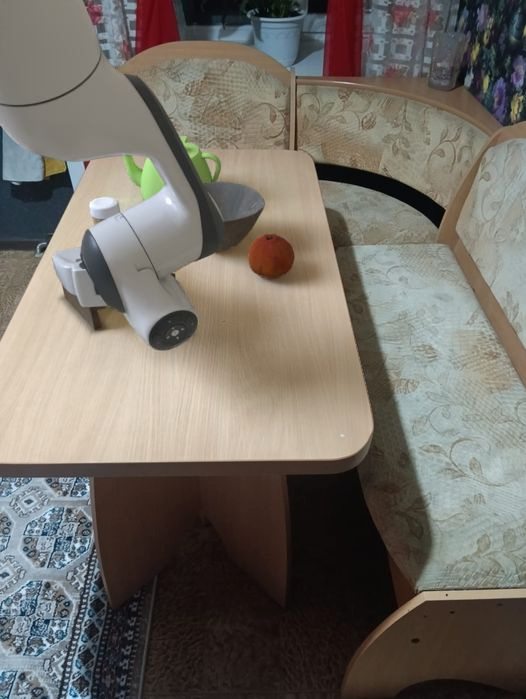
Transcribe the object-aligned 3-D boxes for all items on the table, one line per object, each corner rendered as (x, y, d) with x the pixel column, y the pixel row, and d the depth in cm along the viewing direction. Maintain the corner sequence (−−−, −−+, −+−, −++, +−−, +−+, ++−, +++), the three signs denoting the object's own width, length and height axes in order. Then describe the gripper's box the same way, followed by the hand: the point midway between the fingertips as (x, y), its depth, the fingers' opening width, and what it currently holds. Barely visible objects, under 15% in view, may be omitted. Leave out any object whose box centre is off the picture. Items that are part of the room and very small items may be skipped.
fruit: (247, 285, 101) (247, 247, 96) (248, 261, 108) (248, 224, 103) (294, 287, 101) (297, 248, 96) (292, 262, 108) (295, 225, 103)
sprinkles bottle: (135, 276, 94) (124, 202, 85) (112, 285, 91) (98, 210, 83) (120, 266, 96) (108, 193, 88) (98, 275, 94) (83, 201, 85)
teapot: (233, 204, 129) (232, 142, 119) (162, 229, 118) (155, 163, 109) (186, 179, 139) (182, 121, 130) (118, 200, 129) (108, 139, 120)
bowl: (264, 268, 106) (265, 221, 100) (168, 267, 106) (163, 220, 99) (263, 224, 121) (264, 181, 114) (178, 223, 120) (174, 179, 114)
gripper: (198, 240, 82) (165, 205, 92) (61, 272, 74) (40, 231, 84) (201, 276, 86) (169, 239, 96) (71, 310, 78) (50, 266, 88)
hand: (108, 235), depth 90 cm, fingers closed on sprinkles bottle, 4 cm apart
